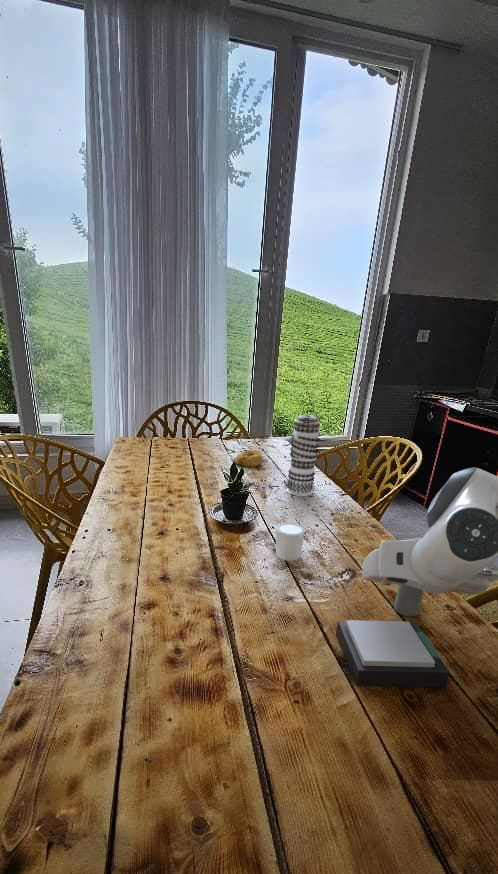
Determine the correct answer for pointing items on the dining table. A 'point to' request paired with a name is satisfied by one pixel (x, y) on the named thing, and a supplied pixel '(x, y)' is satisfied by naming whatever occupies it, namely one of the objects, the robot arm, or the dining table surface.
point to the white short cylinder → (289, 541)
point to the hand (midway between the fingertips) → (411, 584)
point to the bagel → (249, 458)
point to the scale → (390, 654)
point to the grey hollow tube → (408, 600)
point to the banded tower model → (303, 455)
